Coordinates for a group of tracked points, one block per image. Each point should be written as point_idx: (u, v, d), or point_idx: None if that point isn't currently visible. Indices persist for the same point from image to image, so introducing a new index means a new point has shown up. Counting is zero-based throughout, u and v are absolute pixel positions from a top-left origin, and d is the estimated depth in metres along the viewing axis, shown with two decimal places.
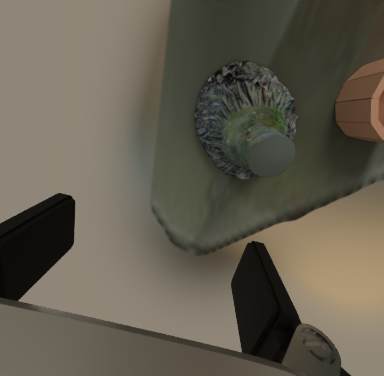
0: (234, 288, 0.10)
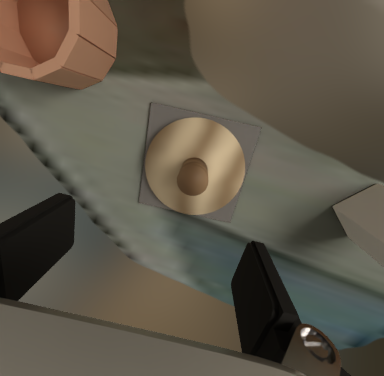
0: (234, 288, 0.10)
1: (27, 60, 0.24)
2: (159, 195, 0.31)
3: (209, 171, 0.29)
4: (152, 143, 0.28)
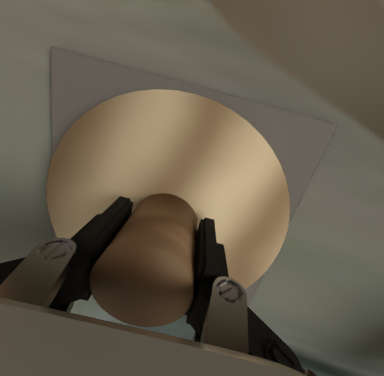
0: None
1: None
2: None
3: None
4: (57, 155, 0.11)
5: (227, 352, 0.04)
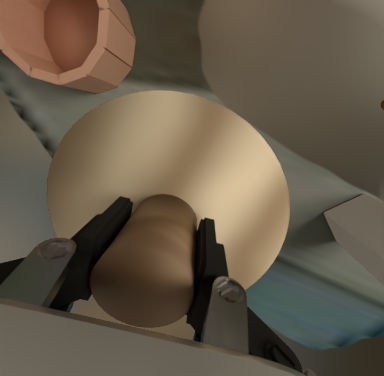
0: None
1: (50, 65, 0.26)
2: None
3: None
4: (58, 156, 0.11)
5: (227, 352, 0.04)
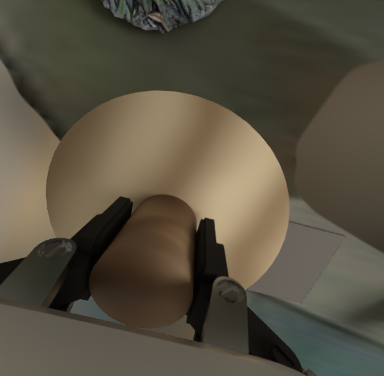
0: None
1: None
2: None
3: None
4: (57, 156, 0.11)
5: (227, 352, 0.04)
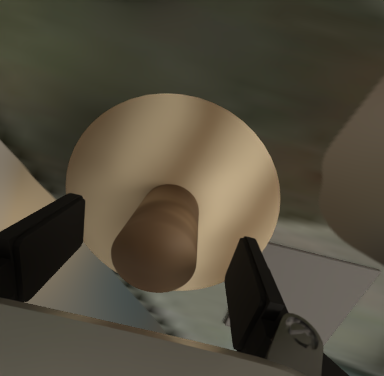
0: (227, 282, 0.10)
1: None
2: (101, 254, 0.15)
3: (202, 213, 0.13)
4: (77, 150, 0.12)
5: (227, 352, 0.04)
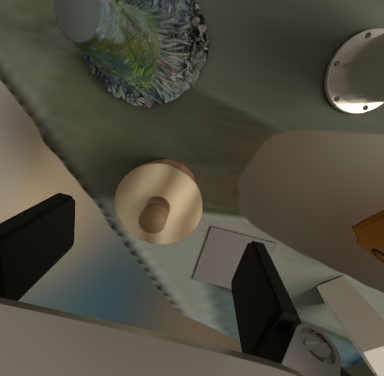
0: (234, 288, 0.10)
1: None
2: (127, 226, 0.34)
3: (171, 208, 0.33)
4: (121, 183, 0.31)
5: (227, 352, 0.04)
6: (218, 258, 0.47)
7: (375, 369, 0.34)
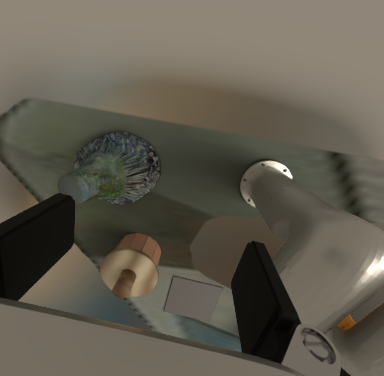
0: (234, 288, 0.10)
1: None
2: (109, 286, 0.51)
3: (137, 276, 0.49)
4: (103, 261, 0.48)
5: (227, 352, 0.04)
6: (181, 297, 0.63)
7: None
